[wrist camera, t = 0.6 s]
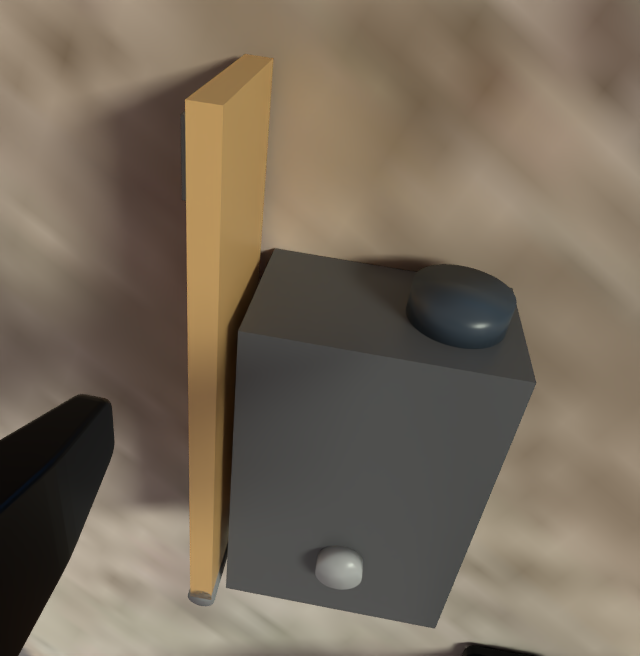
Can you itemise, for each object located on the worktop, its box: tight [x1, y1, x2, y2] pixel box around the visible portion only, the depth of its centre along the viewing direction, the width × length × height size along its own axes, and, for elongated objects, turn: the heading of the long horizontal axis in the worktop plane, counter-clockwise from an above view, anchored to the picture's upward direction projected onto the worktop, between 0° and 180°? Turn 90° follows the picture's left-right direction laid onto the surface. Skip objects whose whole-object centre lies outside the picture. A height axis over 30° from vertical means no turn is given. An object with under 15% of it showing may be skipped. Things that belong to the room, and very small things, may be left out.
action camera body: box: [226, 249, 536, 628], centre depth 21 cm, size 13×8×6 cm, turn 173°
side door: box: [181, 54, 273, 606], centre depth 20 cm, size 18×1×5 cm, turn 173°
